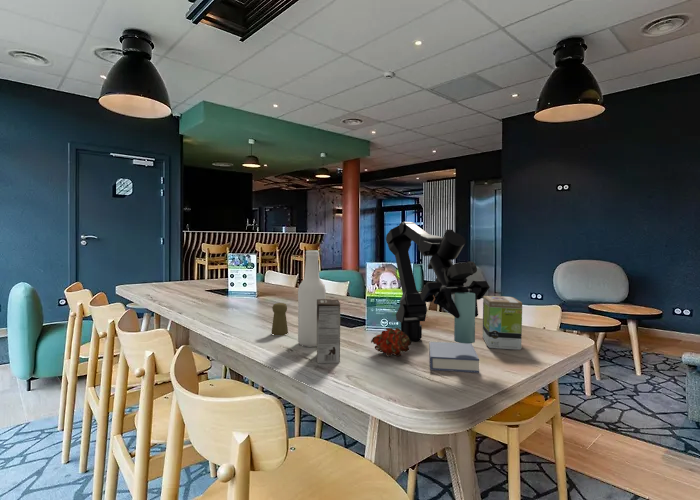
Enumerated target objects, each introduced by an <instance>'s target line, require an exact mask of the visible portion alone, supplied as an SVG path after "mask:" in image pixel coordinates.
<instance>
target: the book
mask: <svg viewBox="0 0 700 500" xmlns="http://www.w3.org/2000/svg"><path fill="white" fill-rule="evenodd" d="M428 342H429V345H428V347H429V348H428V351H429V353H428V354H429V357H428V358H429V370H430V371H440V372H442V371H445V372H459V373H460V372H461V373H462V372H463V373H475V374H479V373H480V358H479V356H478V353H477V352H476V350H475V348H474V345H473V343H468V344H467V343H458V342H452V341H450V342H446V341H428Z"/></svg>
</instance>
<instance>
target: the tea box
mask: <svg viewBox="0 0 700 500" xmlns="http://www.w3.org/2000/svg"><path fill="white" fill-rule="evenodd" d="M482 299H483V300H482V339H483V340H484V341H485V343H486V344H485V345H486V346H487V347H488V349H496V350H497V349H500V350H522V341H523V340H522V338H523V337H522V335H523V334H522V333H523V332H522V330H523V328H522V327H523V302H522V301H520V300H518V299H517V298H515V297H513V296H501V295H500V296H499V295H495V296H494V295H484V296H483V297H482Z"/></svg>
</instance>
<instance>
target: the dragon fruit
mask: <svg viewBox="0 0 700 500" xmlns="http://www.w3.org/2000/svg"><path fill="white" fill-rule="evenodd" d="M372 343H373V345H375V346H374V349H375V350H376V351H377V352H379V353H383V354H384V353H386V354H385V355H386V356H387V357H388V356H389V357H391V356H392V355H394V356H395V357H398V356H399V357H401V355H402V353H408V352H409V351H410V350H411V348H410V346H411V344H412V341H410V339H409V337H408V336H407V335H406V333H404V332H402V331H401V328H399V327H395V329H393V328H390V327H386V328H385V330H382V331H381V333H380V334H377V335H376V336H374V337H372V338H371V339H370V344H372Z"/></svg>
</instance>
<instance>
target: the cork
mask: <svg viewBox="0 0 700 500" xmlns="http://www.w3.org/2000/svg"><path fill="white" fill-rule="evenodd" d="M271 309H272V312H273V318H272V326H271V333H272V334H274V335H284V334H287V333H288V334H289V330H288V329H289V328H288V321H287V311H288V305H287V304H286V303H284V302H276V303H274V304H273V305H272V308H271Z"/></svg>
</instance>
